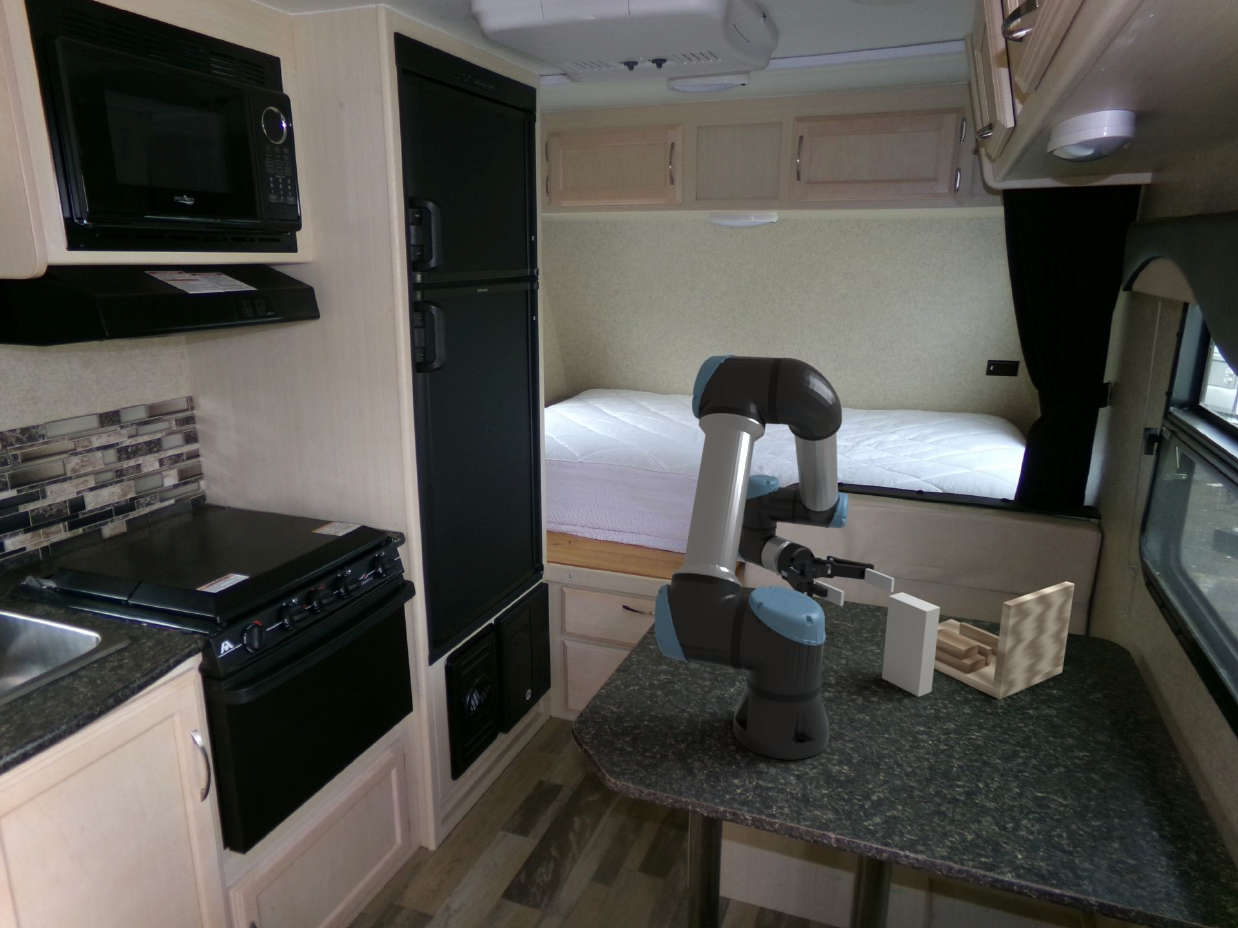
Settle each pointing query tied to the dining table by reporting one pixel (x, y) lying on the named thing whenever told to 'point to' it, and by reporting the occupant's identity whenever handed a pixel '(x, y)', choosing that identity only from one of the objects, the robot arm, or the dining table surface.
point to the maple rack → (1018, 642)
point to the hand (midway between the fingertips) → (868, 591)
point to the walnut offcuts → (958, 652)
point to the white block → (910, 643)
